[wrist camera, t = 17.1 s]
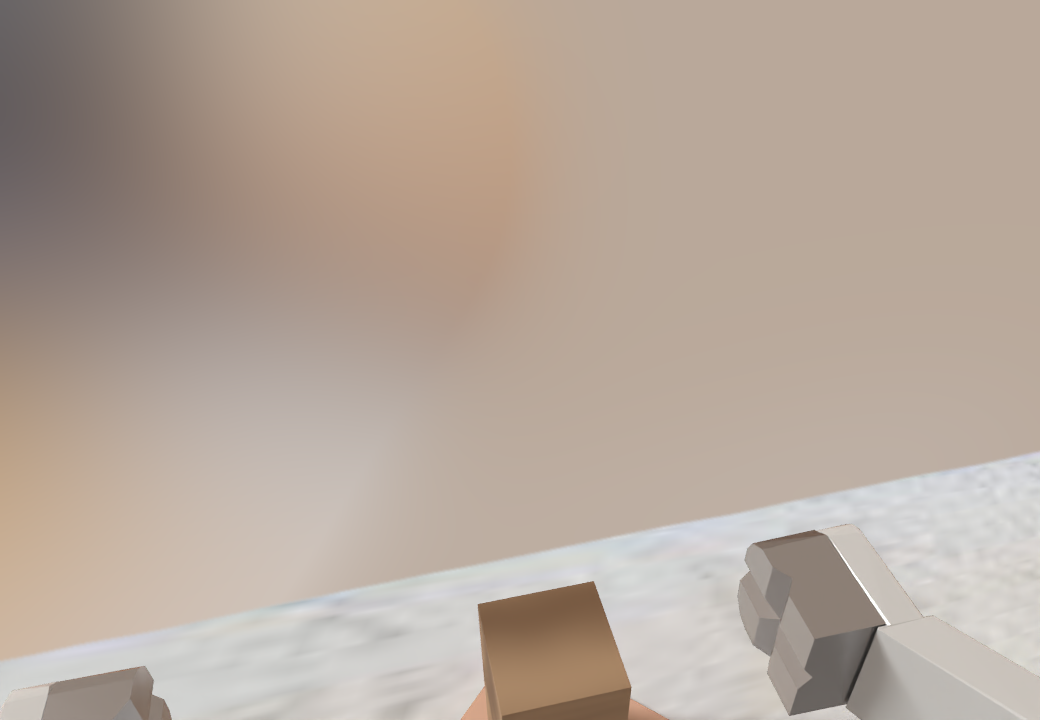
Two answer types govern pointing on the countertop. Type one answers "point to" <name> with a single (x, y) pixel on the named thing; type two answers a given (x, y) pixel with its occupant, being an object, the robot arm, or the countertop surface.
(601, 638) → the walnut block
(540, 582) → the countertop surface
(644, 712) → the pad
